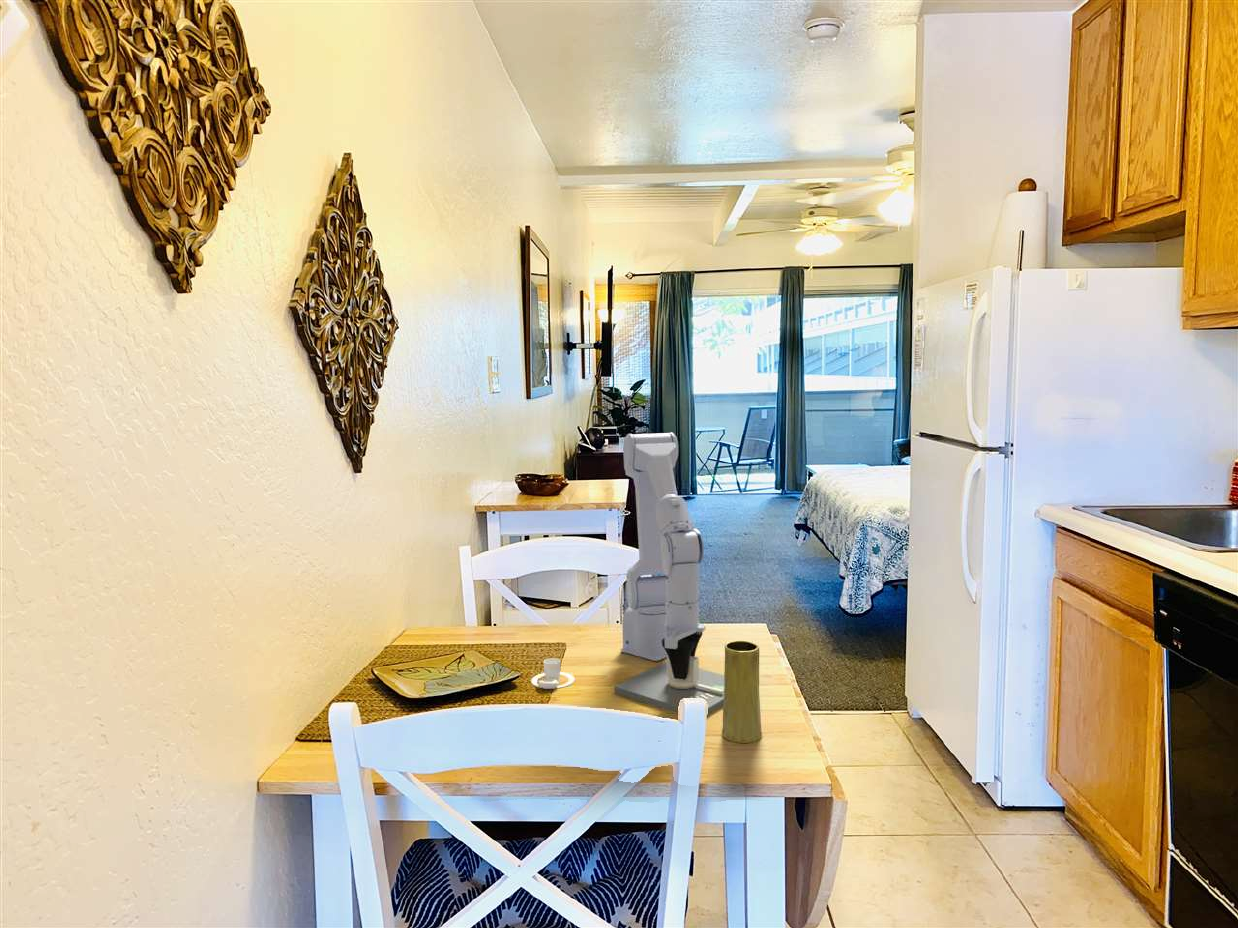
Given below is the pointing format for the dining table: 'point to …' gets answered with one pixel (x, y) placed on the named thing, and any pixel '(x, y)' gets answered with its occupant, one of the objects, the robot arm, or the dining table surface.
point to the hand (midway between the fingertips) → (682, 674)
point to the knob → (688, 677)
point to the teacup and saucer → (551, 675)
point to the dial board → (671, 689)
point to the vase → (741, 692)
